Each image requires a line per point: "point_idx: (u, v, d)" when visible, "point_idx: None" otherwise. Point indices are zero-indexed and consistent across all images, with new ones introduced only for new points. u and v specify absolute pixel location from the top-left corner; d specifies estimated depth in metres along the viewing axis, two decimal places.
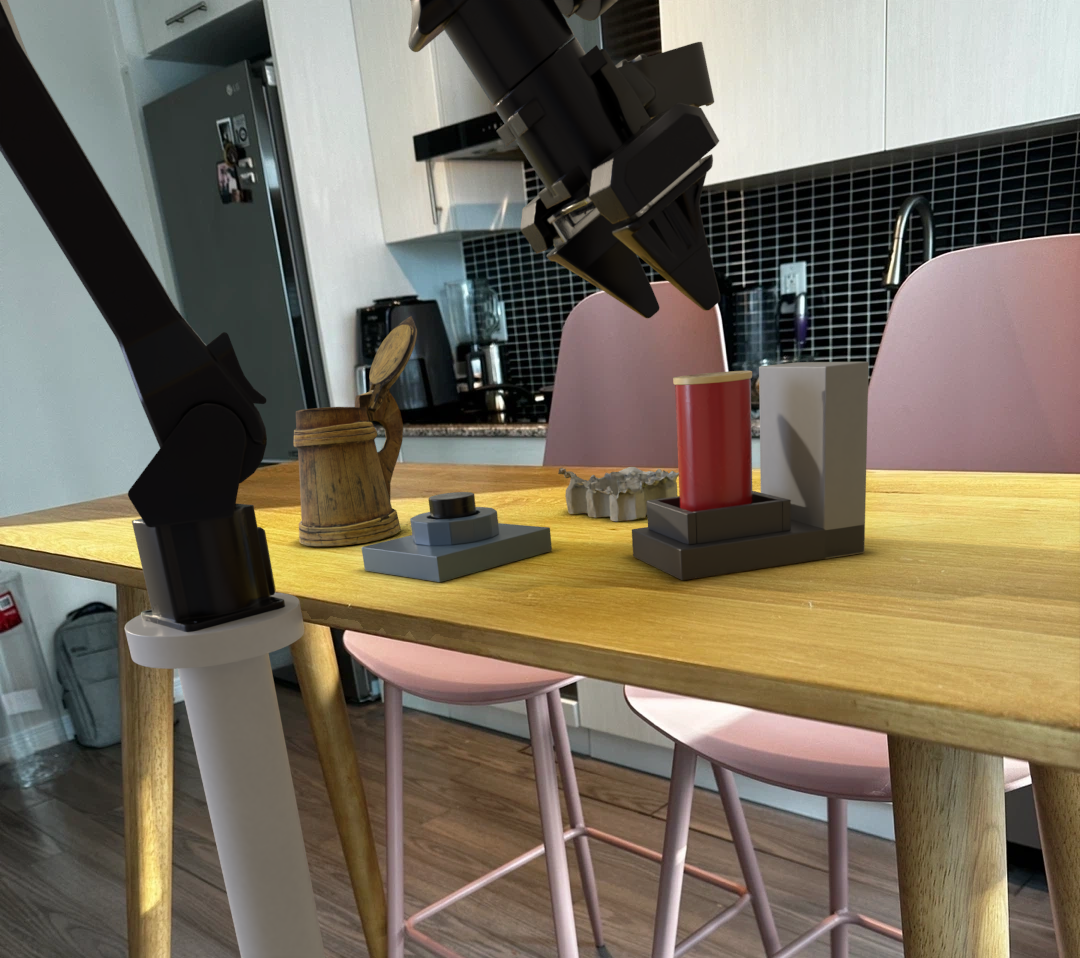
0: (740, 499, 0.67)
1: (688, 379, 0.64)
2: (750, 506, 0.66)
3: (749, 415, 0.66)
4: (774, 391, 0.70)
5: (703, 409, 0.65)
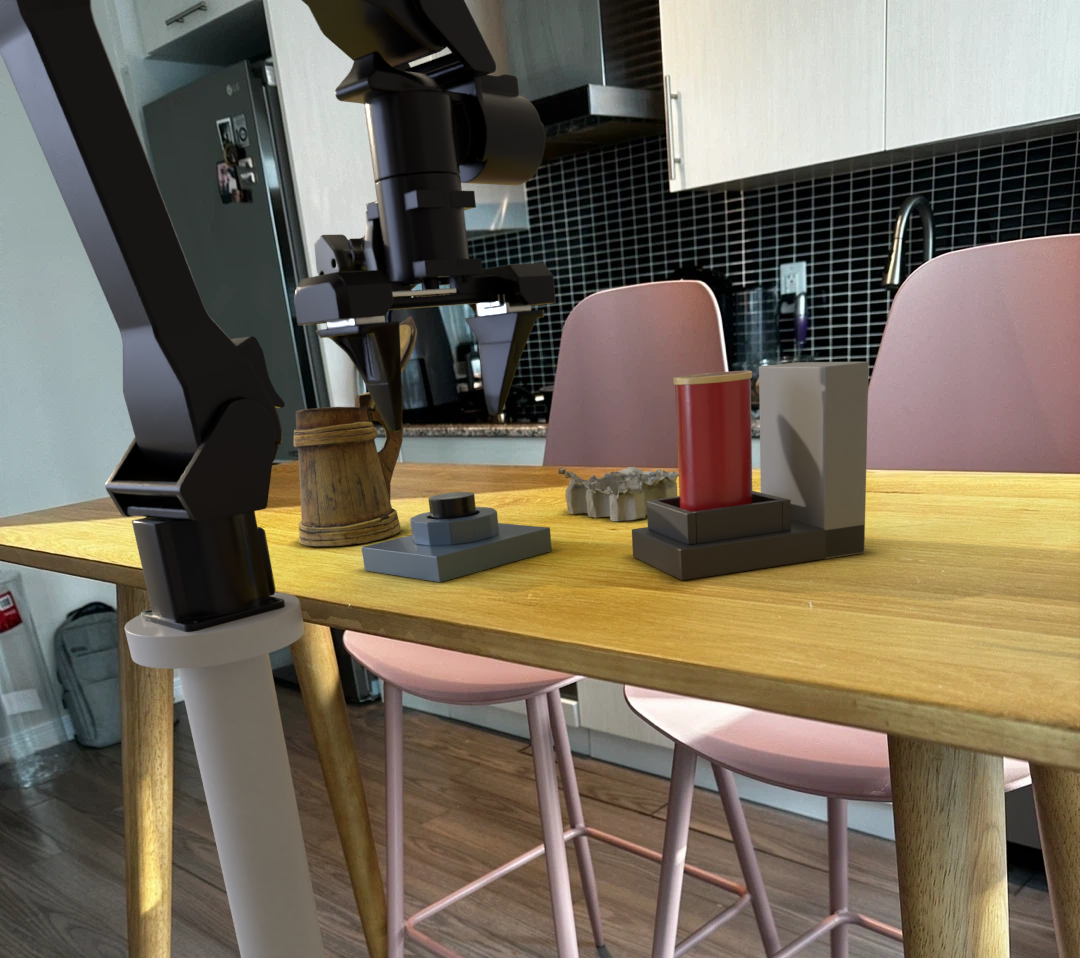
0: (740, 499, 0.67)
1: (688, 379, 0.64)
2: (750, 506, 0.66)
3: (749, 415, 0.66)
4: (774, 391, 0.70)
5: (703, 409, 0.65)
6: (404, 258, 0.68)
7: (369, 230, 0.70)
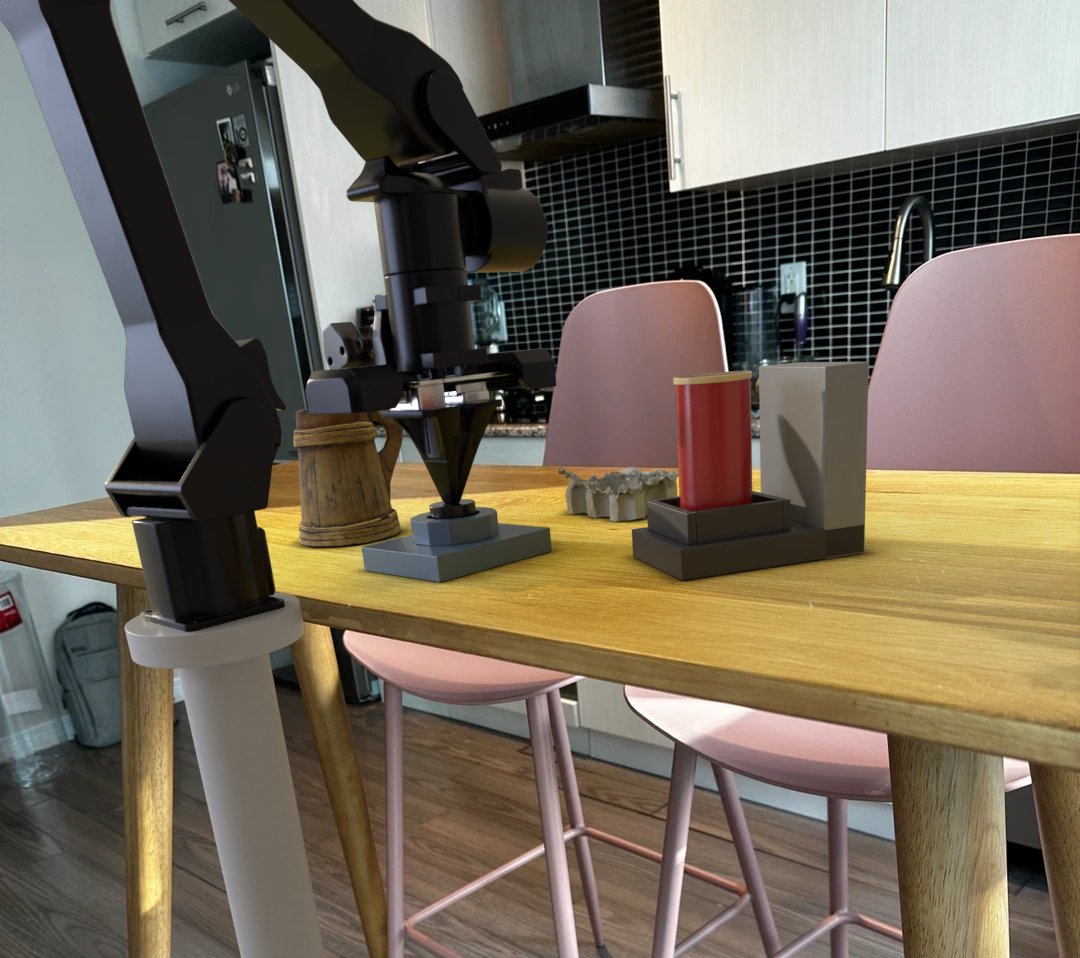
0: (740, 499, 0.67)
1: (688, 379, 0.64)
2: (750, 506, 0.66)
3: (749, 415, 0.66)
4: (774, 391, 0.70)
5: (703, 409, 0.65)
6: (412, 350, 0.70)
7: (377, 320, 0.72)
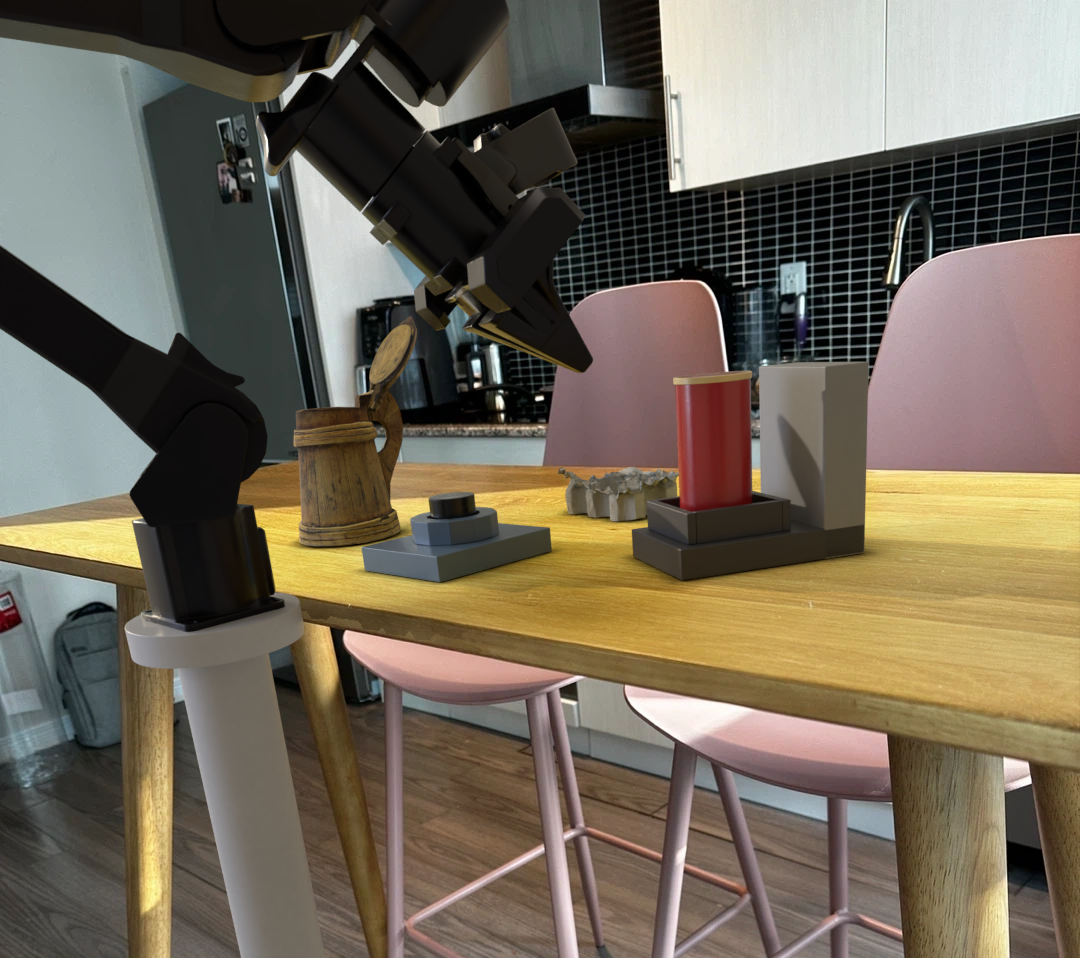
0: (740, 499, 0.67)
1: (688, 379, 0.64)
2: (750, 506, 0.66)
3: (749, 415, 0.66)
4: (774, 391, 0.70)
5: (703, 409, 0.65)
6: None
7: None
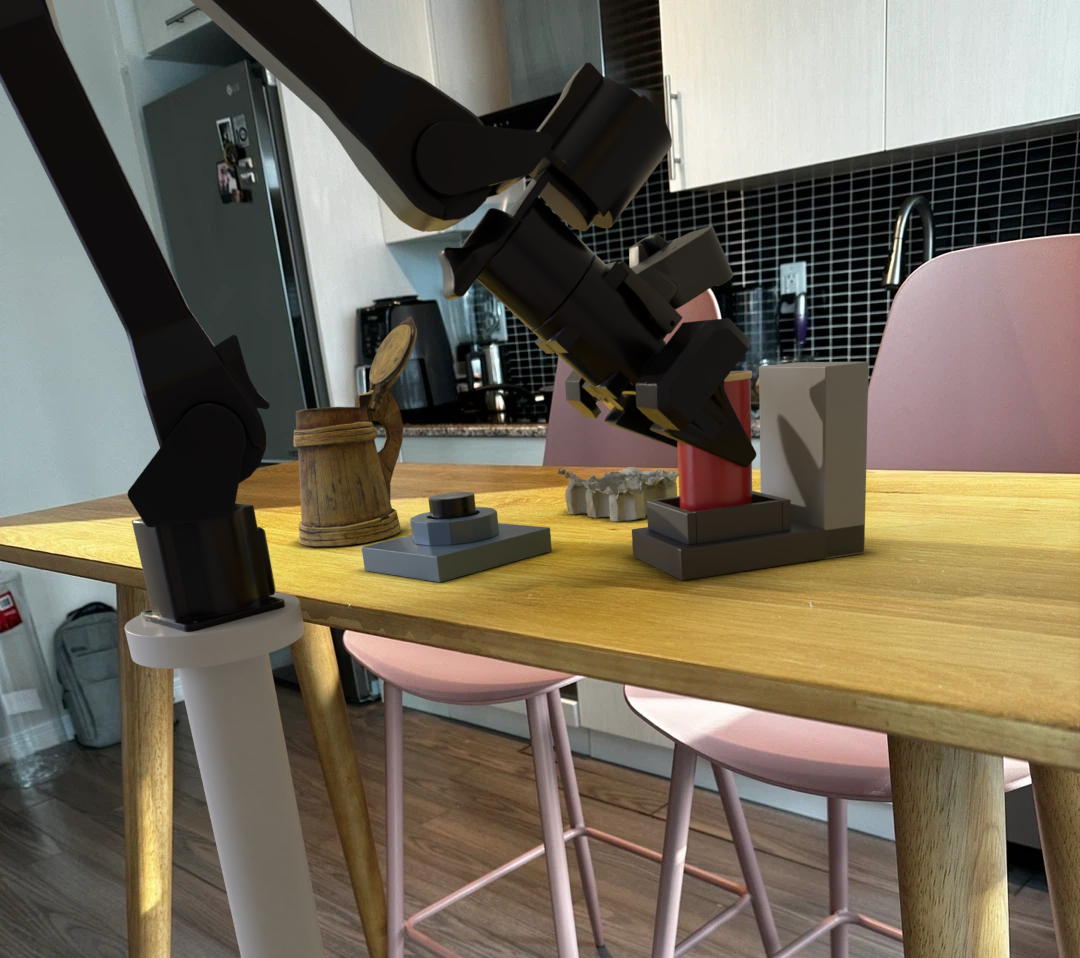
0: (740, 499, 0.67)
1: None
2: (750, 506, 0.66)
3: (749, 415, 0.66)
4: (774, 391, 0.70)
5: None
6: None
7: None
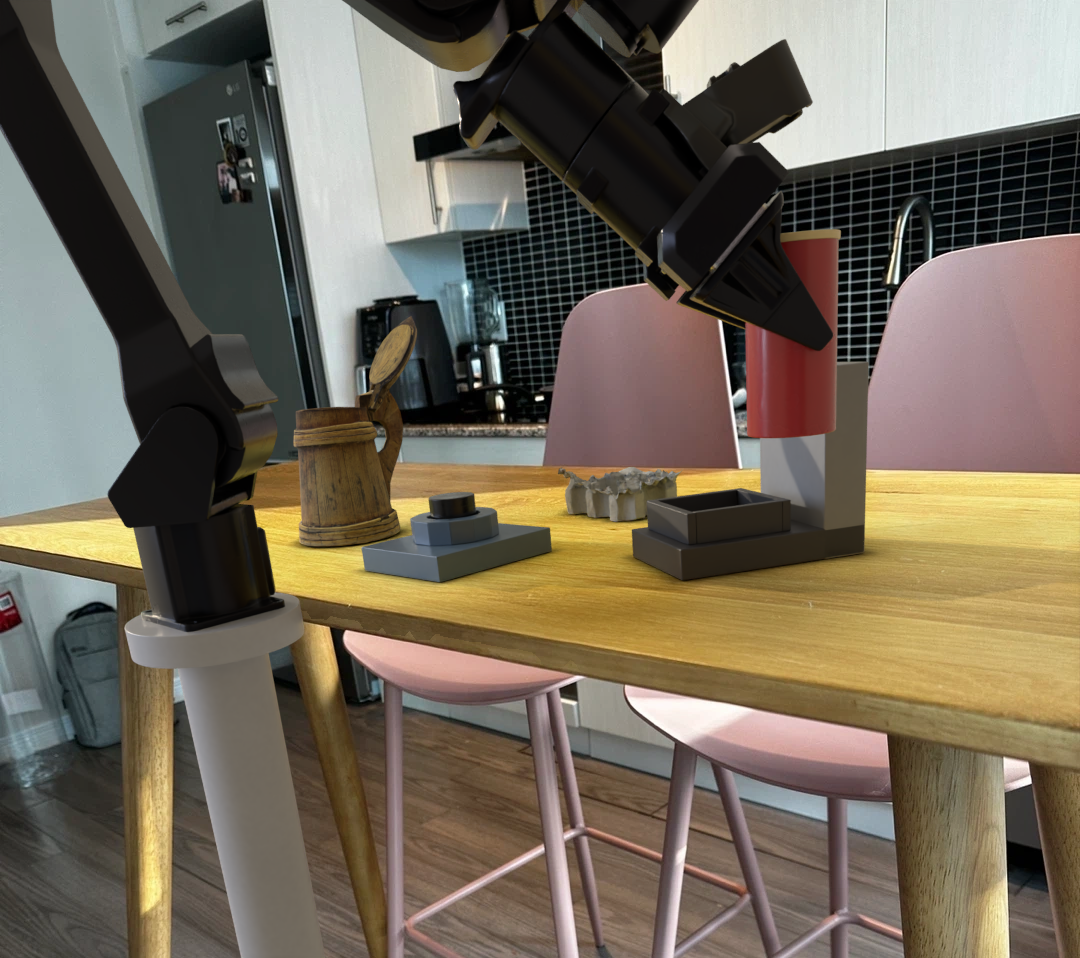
0: (812, 392, 0.54)
1: None
2: (750, 506, 0.66)
3: (831, 286, 0.53)
4: None
5: None
6: None
7: None
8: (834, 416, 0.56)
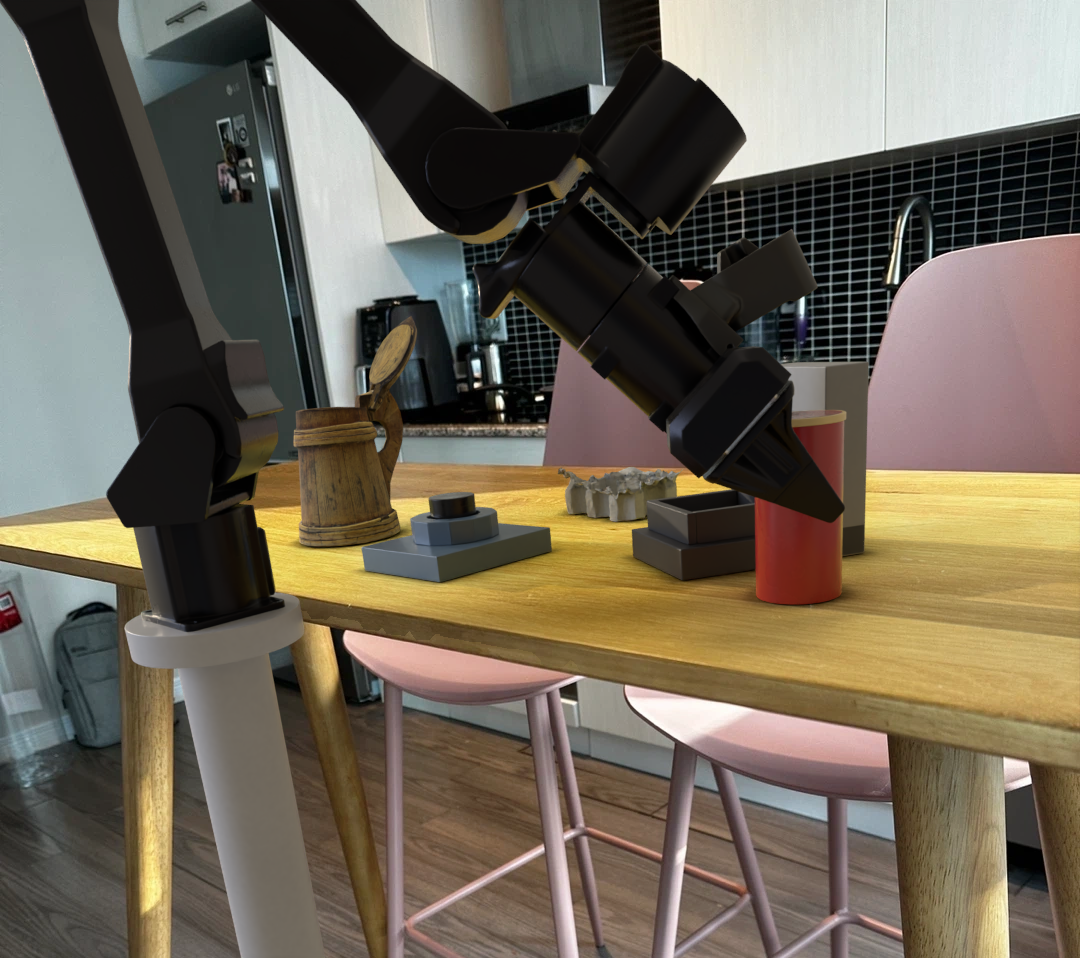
0: (817, 564, 0.56)
1: None
2: (750, 506, 0.66)
3: (836, 465, 0.55)
4: None
5: None
6: None
7: None
8: (839, 582, 0.58)
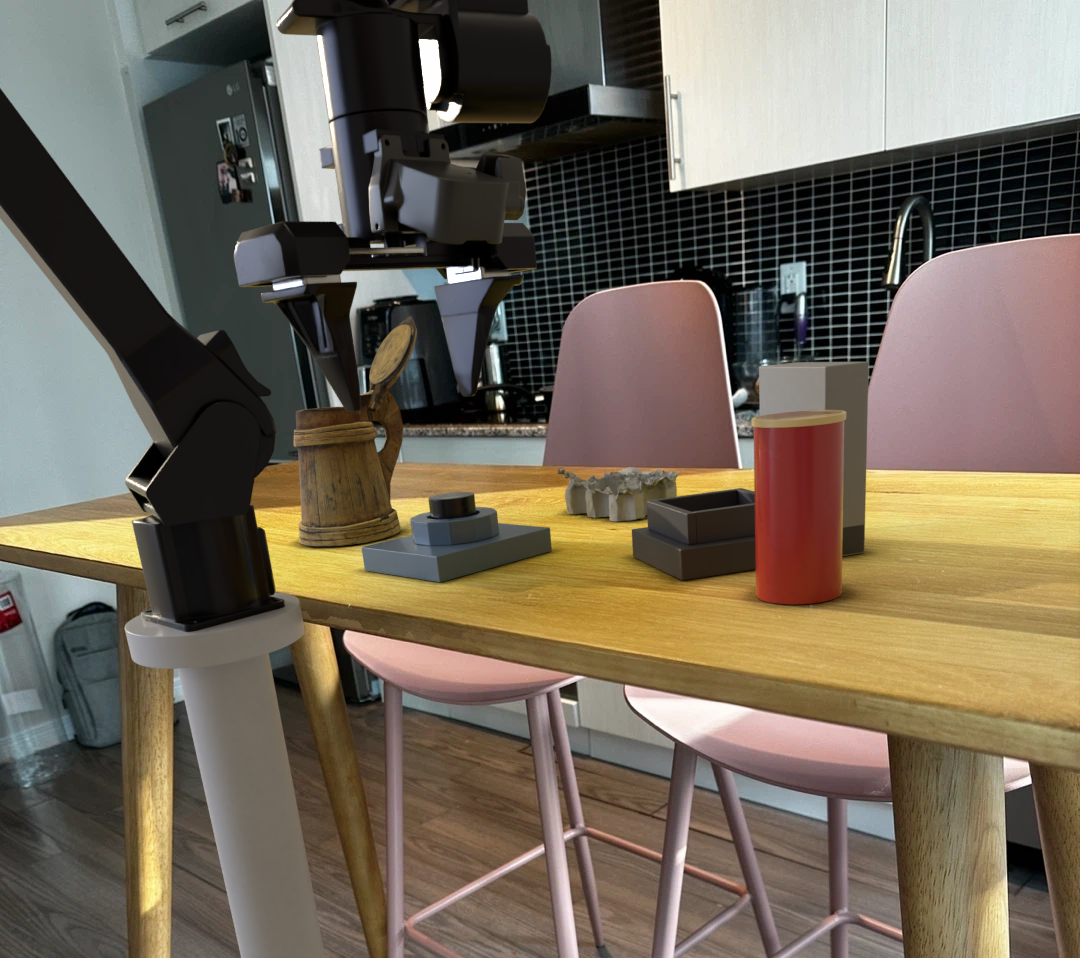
0: (817, 564, 0.56)
1: (760, 421, 0.55)
2: (750, 506, 0.66)
3: (836, 465, 0.55)
4: (774, 391, 0.70)
5: (775, 457, 0.55)
6: None
7: None
8: (839, 582, 0.58)
